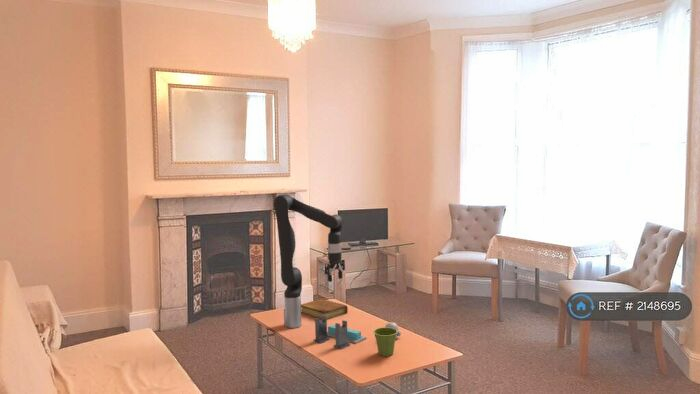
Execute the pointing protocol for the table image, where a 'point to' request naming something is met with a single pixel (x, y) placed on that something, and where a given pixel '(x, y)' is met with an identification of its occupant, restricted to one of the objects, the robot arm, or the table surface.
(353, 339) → the rubber mat
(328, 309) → the diary
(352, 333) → the rail bar
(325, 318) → the bracket stand
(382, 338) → the plant pot
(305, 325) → the table surface
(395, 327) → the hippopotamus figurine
